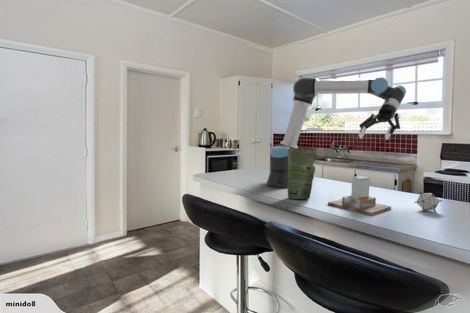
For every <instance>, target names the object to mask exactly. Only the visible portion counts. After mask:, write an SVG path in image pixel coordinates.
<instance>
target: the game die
mask: <svg viewBox="0 0 470 313" xmlns="http://www.w3.org/2000/svg"><path fill="white" fill-rule="evenodd" d="M419 193H420V195H419V196H418V198H417V199H416V201H413V203H415V204H417V205H418V206H419V207H420V208H421V209H422V210H423V211H422V212H423V213H425V211H434V213H436V212H437V211H436V208H437V207H438V205H439V203H442V201H443V200H440V199H439V198H437V197H436V196H435V194H434V193H433V191H431V192H422V191H419Z"/></svg>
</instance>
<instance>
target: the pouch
mask: <svg viewBox="0 0 470 313" xmlns="http://www.w3.org/2000/svg"><path fill="white" fill-rule="evenodd" d="M317 150H318V149H317V148H315V147H313V148H310V149H309V148H307V149H304V147H303V146H302V147H301V148H298V149H297V148H289V149H288V153H287V155H288V164H289V170H288V188H287V198H289V199H293V200H305V199H306V200H309V199H310V198H311V193H312V188H313V180H314V177H315V176H314V175H315V172H316V167H315V166H314V162H315V160H314V157H315V154H316V152H317Z"/></svg>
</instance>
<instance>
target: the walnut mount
mask: <svg viewBox="0 0 470 313" xmlns="http://www.w3.org/2000/svg"><path fill="white" fill-rule="evenodd" d="M376 199H377V198H376V197H374V196H369V199H365V200H362V201H360V200H356V199H351V194H350V195H346V196H342V198H340V199H337V200H331V201H327V205H328V206H331V207H334V208H339V209H342V210H343V209H344V210H346V211H352V212H355V213H359V214H363V215H367V216H374V215H378V214H381V213H384V212H387V211H390V210H392V206H391V205H386V204H382V203H377V202H376V201H377V200H376Z"/></svg>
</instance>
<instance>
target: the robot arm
mask: <svg viewBox="0 0 470 313" xmlns="http://www.w3.org/2000/svg"><path fill="white" fill-rule="evenodd" d="M388 82H389V81H388V80H387V79H386V78H385V77H383V76H378V77H376V78H345V79H343V78H342V79H341V78H340V79H339V78H338V79H318V77H300V78H298V79H297V80H296V81H295V82H294V85H293V93H294V95H293V100H292V101H293V102H294V103H293V104H294V105H293V107H292V111H291V115H290V118H289V120H288V124H287V126H286V127H287V128H286V131H285V133H284V138H283V140H282V141H280V143H279V145H275V146H272V147H271V148H270V152H269V154H270V158H269V175H268V178H267V180H266V186H267V187H269V188H270V187H271V188H276V189H277V188H279V189H286V188H287V189H288V170H289V164H288V155H287V153H288V149H289V148H297V149H299V147H298V145H297V144H298V141H299V139H300V138H299V137H300V134H301V133H302V132H301V131H302V128H303V125H304V122H305V119H306V115H307V112H308V109H309V107H311V106H312V105H313V102H314V99H315V97H317V96H318V95H323V94H324V95H331V94H332V95H333V94H334V95H337V94H338V95H342V94H344V95H345V94H347V95H348V94H351V95H352V94H370V95H373V96H375V97H377V98H380V99H382V100H384V102H382V105H381V107H380V108H379V111H378V113H377V114H374V113H372V114H371V115H370V116H369V117H368V118H366V119H365V120H364V121H363V122H361V123H360V124H359V129H360V130H359V134H358V137H359V139H360V140H362V139H363V137H364V136H365V133H366V132H367V129H369V128H371V127H372V126H374V125H375V124H376V125H378V124H379V123H388V124H389V128H388V129H387V130H386V133H385V135H384V138H385V140H386V141H389V139H390V137H391V136H392V135H394V133H395V131H396V130H401V125H400V121H399V120H400V119H399V118H400V116H399V113H398V112H397V111H398V109H399V107H400V105H401V103H402V101H403V100H404V98H405V95H406V94H407V89H406V88H405V87H404V86H403V85H397V84H396V85H393V86H390V85H389V83H388ZM392 119H394V121H395V124H394V122H393V121H392Z"/></svg>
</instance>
